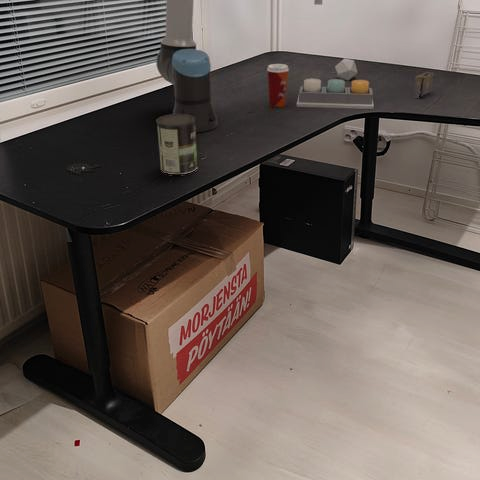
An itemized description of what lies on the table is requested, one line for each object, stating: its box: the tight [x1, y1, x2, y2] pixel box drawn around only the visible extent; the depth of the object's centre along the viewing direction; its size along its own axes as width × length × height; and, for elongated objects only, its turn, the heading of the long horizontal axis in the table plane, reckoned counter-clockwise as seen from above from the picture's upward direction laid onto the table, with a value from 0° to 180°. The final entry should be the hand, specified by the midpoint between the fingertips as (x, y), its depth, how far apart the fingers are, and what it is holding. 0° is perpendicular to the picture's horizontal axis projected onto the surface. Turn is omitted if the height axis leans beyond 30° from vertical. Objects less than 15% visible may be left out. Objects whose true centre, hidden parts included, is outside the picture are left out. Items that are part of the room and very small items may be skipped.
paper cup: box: [266, 63, 290, 108], centre depth 215 cm, size 8×8×14 cm
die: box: [334, 58, 358, 82], centre depth 247 cm, size 8×9×10 cm
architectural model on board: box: [412, 71, 434, 97], centre depth 225 cm, size 11×3×10 cm, turn 143°
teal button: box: [327, 78, 346, 93], centre depth 218 cm, size 6×6×6 cm
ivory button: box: [303, 78, 322, 92], centre depth 219 cm, size 6×6×6 cm
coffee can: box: [155, 113, 199, 174], centre depth 164 cm, size 10×10×14 cm
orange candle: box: [351, 79, 370, 94], centre depth 216 cm, size 6×6×6 cm
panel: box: [296, 85, 375, 110], centre depth 219 cm, size 27×13×4 cm, turn 82°
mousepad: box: [66, 162, 102, 175], centre depth 168 cm, size 9×8×1 cm
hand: (318, 4), depth 213 cm, fingers closed
